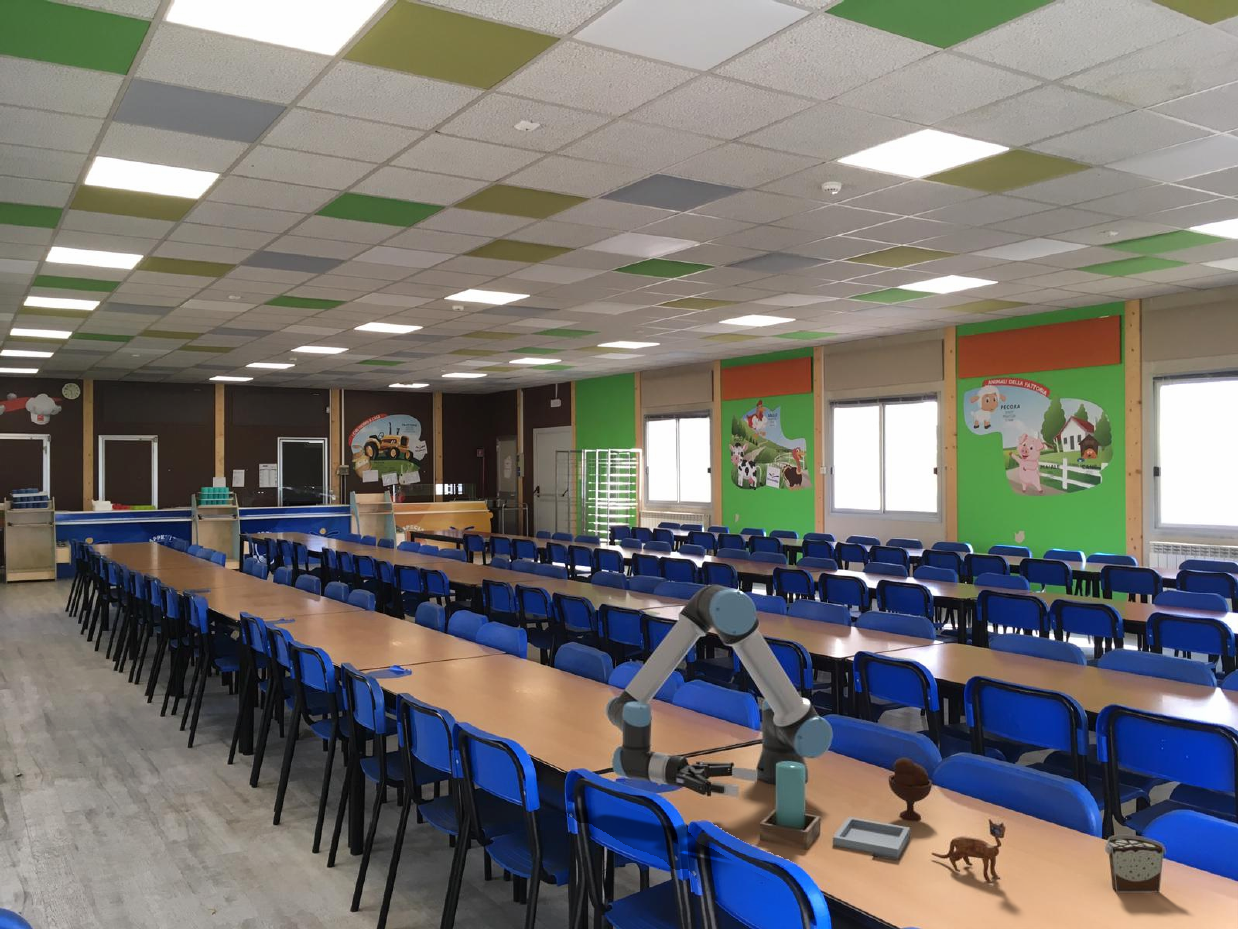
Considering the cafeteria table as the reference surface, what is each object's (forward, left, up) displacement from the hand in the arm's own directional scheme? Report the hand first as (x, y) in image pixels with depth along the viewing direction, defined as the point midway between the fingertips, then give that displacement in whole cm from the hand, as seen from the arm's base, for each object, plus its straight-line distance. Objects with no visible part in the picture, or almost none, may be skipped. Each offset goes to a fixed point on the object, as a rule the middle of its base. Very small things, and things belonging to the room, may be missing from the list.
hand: (747, 783), depth 226 cm
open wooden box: (0, +11, -12) cm, 16 cm away
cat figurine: (-1, +51, -12) cm, 52 cm away
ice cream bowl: (-29, +34, -12) cm, 46 cm away
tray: (-7, +29, -12) cm, 32 cm away
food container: (-10, +83, -12) cm, 84 cm away
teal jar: (0, +11, -11) cm, 15 cm away
